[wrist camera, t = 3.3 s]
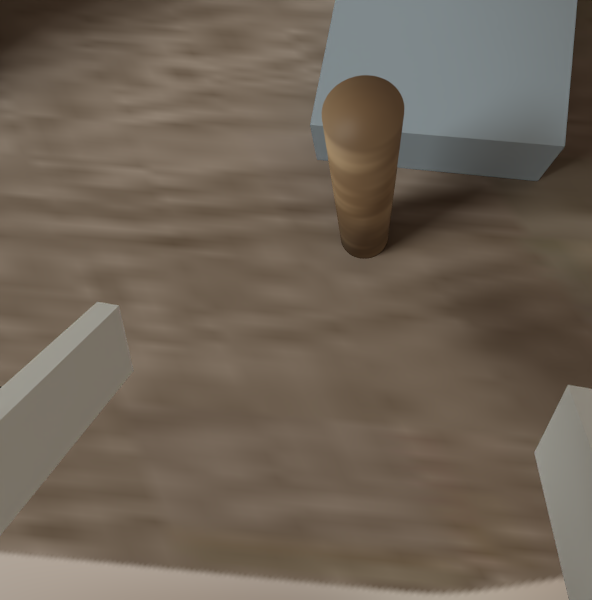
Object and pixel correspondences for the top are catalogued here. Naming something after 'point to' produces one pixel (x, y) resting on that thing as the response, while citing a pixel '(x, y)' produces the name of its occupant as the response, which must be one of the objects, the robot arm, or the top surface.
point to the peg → (363, 158)
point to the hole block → (461, 79)
